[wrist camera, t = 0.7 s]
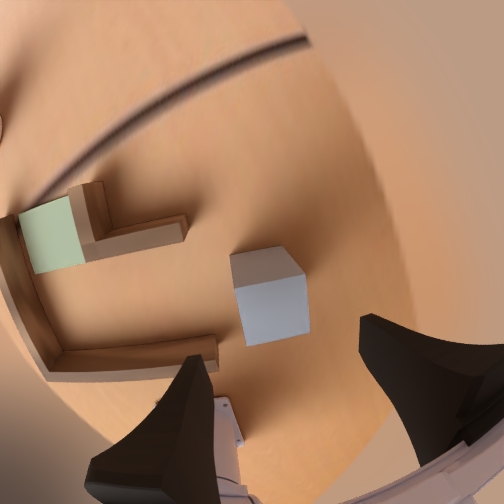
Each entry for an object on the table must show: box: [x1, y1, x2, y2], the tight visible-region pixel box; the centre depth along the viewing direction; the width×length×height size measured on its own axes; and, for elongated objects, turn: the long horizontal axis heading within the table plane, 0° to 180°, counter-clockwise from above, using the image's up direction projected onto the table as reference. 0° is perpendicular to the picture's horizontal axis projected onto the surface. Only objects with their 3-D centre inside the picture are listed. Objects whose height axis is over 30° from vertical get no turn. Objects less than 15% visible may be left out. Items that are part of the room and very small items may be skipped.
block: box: [229, 245, 310, 346], centre depth 19 cm, size 4×4×6 cm
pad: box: [18, 196, 92, 275], centre depth 18 cm, size 6×7×1 cm
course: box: [0, 181, 219, 382], centre depth 18 cm, size 15×17×4 cm
